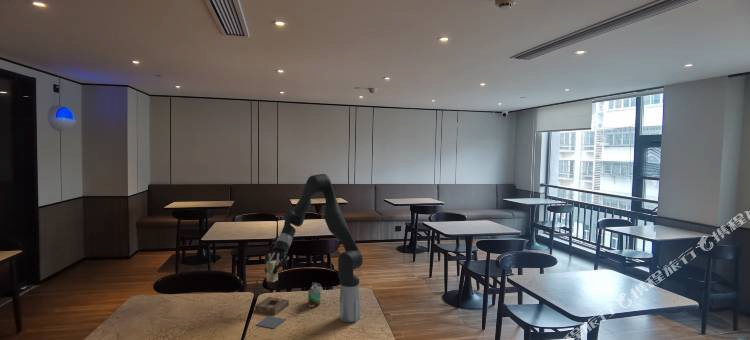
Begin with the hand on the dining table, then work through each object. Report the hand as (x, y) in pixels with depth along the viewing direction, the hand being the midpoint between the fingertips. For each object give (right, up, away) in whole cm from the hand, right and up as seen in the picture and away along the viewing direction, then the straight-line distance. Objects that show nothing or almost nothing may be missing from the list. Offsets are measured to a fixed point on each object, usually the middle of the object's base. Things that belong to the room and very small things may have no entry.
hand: (270, 272), depth 192 cm
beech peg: (+1, -4, +2) cm, 5 cm away
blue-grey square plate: (+4, -20, -12) cm, 24 cm away
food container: (+22, -20, +9) cm, 31 cm away
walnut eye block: (0, -19, +4) cm, 20 cm away
